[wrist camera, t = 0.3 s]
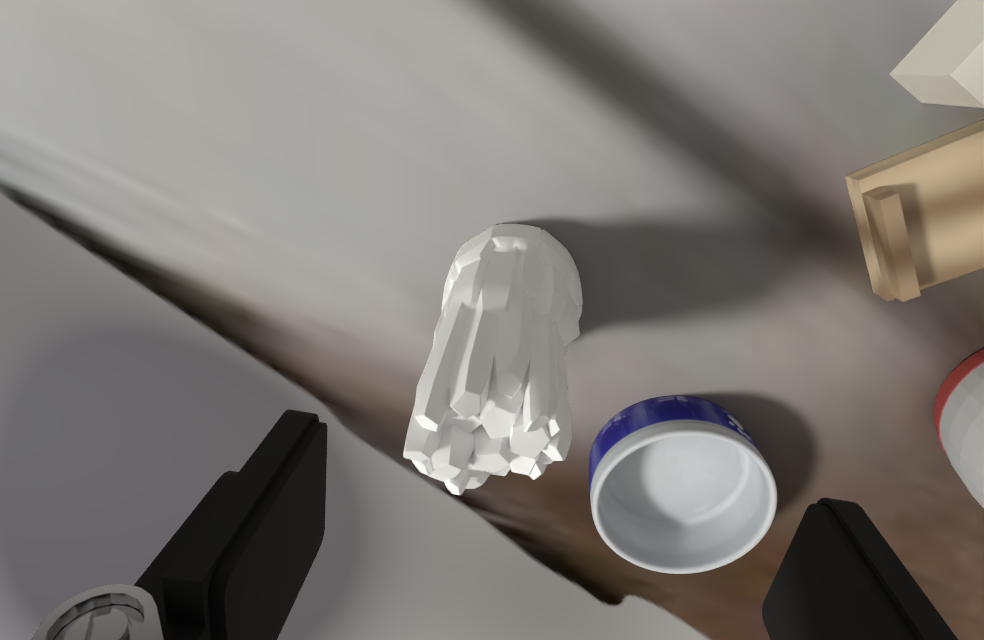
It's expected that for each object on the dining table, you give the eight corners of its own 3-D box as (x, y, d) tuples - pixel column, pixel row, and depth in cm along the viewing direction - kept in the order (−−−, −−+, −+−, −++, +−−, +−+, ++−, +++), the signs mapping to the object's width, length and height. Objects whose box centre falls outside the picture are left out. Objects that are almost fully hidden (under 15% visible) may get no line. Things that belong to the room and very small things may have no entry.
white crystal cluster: (605, 284, 47) (664, 486, 24) (517, 367, 51) (496, 608, 28) (508, 194, 45) (473, 322, 22) (423, 287, 49) (317, 479, 26)
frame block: (888, 74, 40) (949, 75, 34) (978, -23, 37) (1061, -41, 31) (922, 103, 40) (988, 109, 34) (1013, 9, 38) (1101, -2, 32)
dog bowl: (554, 472, 55) (555, 516, 50) (663, 361, 50) (679, 397, 44) (673, 550, 58) (687, 600, 52) (790, 453, 52) (819, 498, 47)
